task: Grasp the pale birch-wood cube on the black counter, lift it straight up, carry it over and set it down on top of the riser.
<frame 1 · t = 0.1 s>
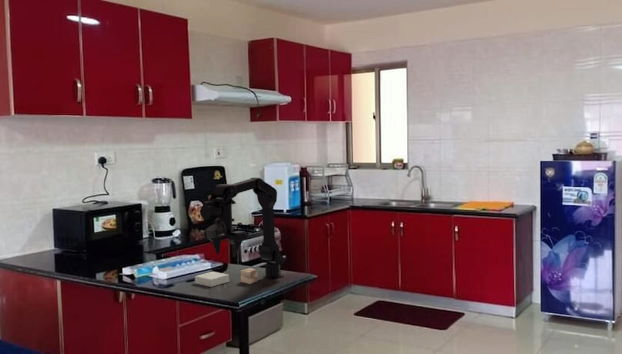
hand: (225, 255, 228), 14 cm above the countertop, fingers open, 9 cm apart
riser: (212, 282, 243), on the countertop
birch cube: (249, 281, 244), on the countertop
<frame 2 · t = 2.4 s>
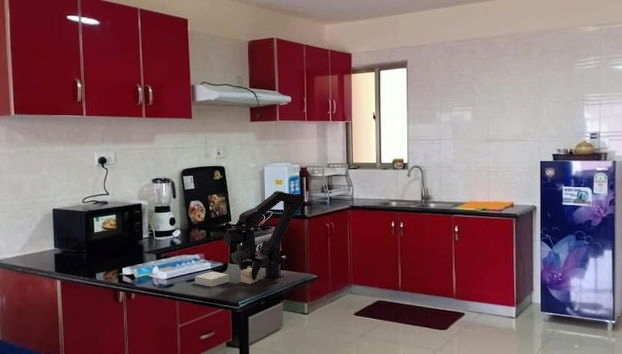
hand: (249, 279, 244), 1 cm above the countertop, fingers closed on birch cube, 5 cm apart
birch cube: (249, 281, 244), on the countertop, touching gripper
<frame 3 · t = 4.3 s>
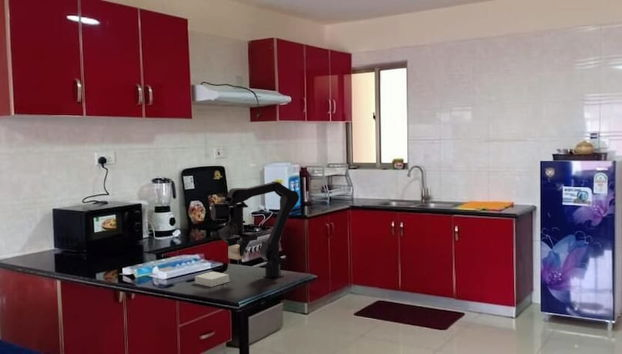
hand: (236, 255, 242), 11 cm above the countertop, fingers closed on birch cube, 5 cm apart
birch cube: (236, 257, 242), point 10 cm above the countertop, touching gripper
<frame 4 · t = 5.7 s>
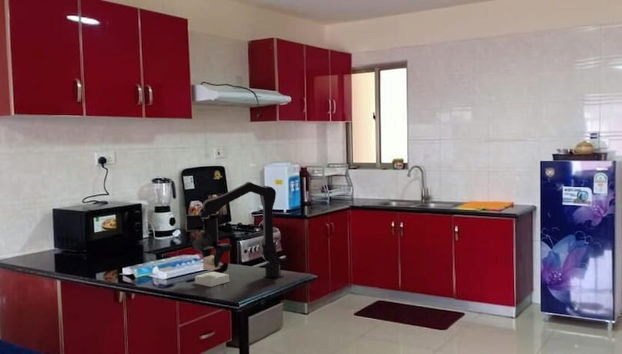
hand: (211, 266, 243), 7 cm above the countertop, fingers closed on birch cube, 5 cm apart
birch cube: (211, 268, 243), point 6 cm above the countertop, touching gripper
when the fingers open (5 cm above the countertop, at t = 6.4 s): birch cube stays where it is, resting on riser.
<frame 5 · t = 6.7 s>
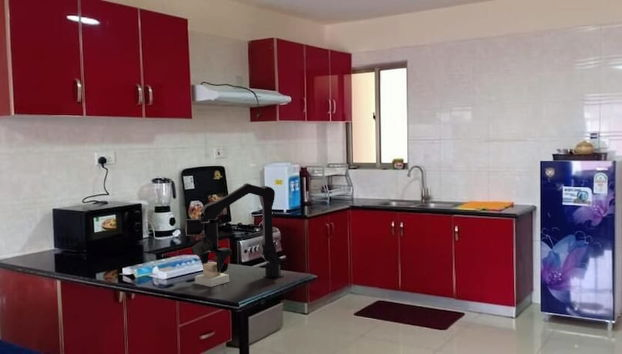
hand: (211, 270, 243), 5 cm above the countertop, fingers open, 8 cm apart
birch cube: (211, 275, 243), point 3 cm above the countertop, touching riser
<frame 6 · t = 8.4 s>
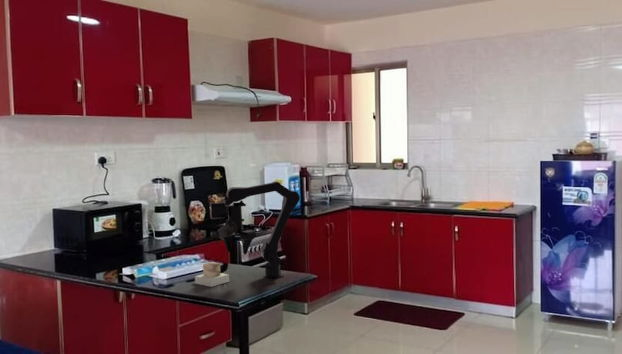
hand: (237, 253, 246), 11 cm above the countertop, fingers open, 9 cm apart
nothing on the countertop moved.
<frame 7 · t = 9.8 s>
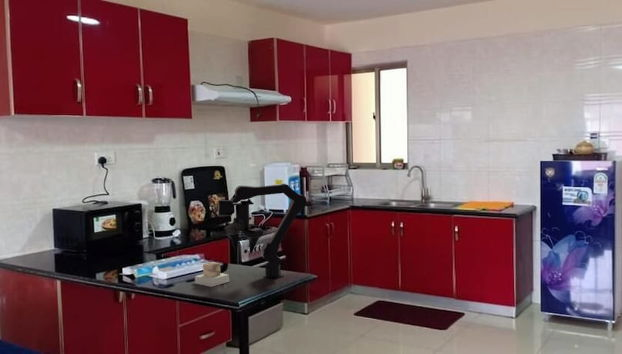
hand: (243, 251, 247), 12 cm above the countertop, fingers open, 9 cm apart
nothing on the countertop moved.
at the end: birch cube inside the target area on the riser (0.0 cm from its centre), point 3.0 cm above the riser's base; birch cube tilted 0°; the gripper is holding nothing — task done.
